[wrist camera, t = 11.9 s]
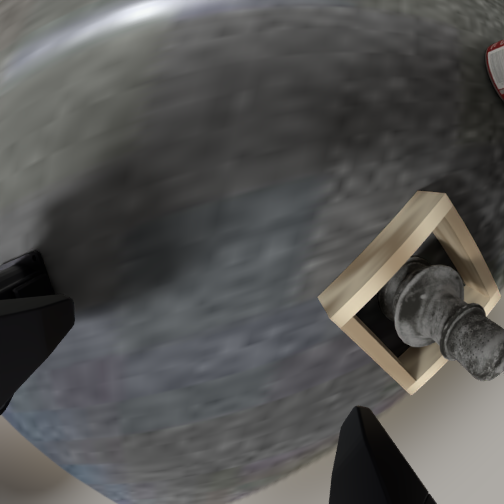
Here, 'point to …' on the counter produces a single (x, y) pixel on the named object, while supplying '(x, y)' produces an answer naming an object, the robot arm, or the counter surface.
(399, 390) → the counter surface
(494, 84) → the soda can
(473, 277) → the birch holder
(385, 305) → the dark grey tall piece
